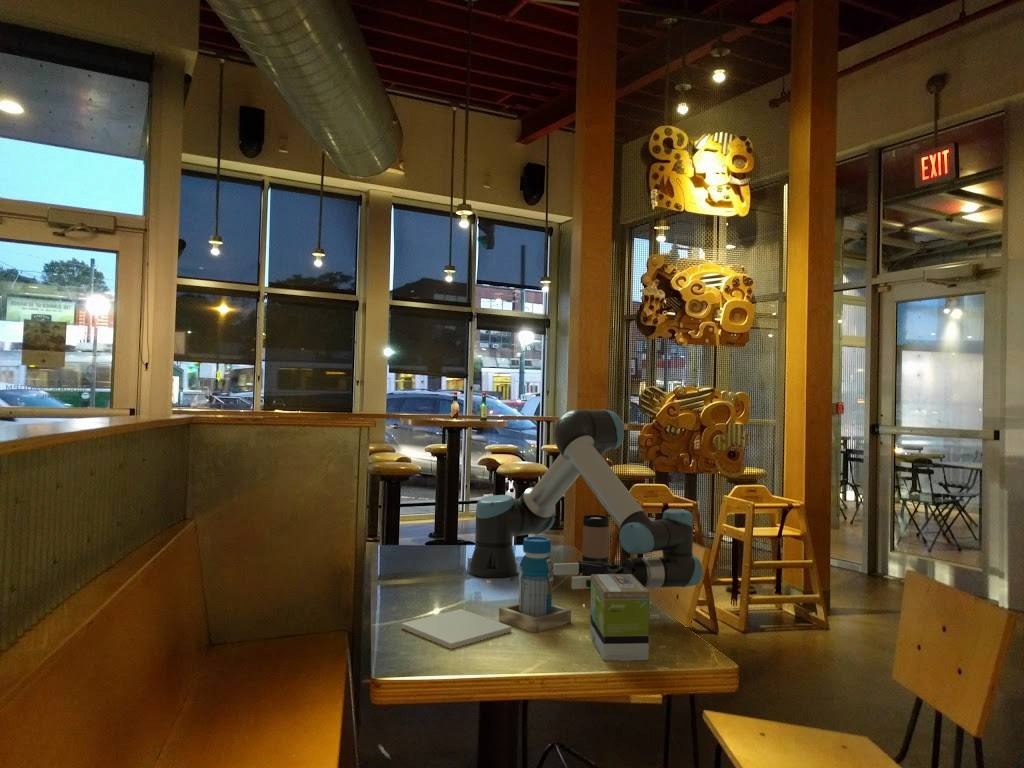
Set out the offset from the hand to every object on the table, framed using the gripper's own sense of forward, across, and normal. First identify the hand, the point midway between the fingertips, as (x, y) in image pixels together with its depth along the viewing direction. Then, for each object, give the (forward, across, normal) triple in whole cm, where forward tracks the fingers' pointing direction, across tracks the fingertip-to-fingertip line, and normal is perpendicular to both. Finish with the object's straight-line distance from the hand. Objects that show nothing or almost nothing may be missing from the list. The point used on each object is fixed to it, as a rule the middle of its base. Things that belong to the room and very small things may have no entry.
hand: (562, 575), depth 174 cm
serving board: (+27, -3, -11) cm, 29 cm away
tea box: (-6, -21, -11) cm, 25 cm away
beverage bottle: (+7, 0, -11) cm, 13 cm away
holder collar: (+7, 0, -11) cm, 13 cm away
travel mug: (-21, +31, -11) cm, 39 cm away
